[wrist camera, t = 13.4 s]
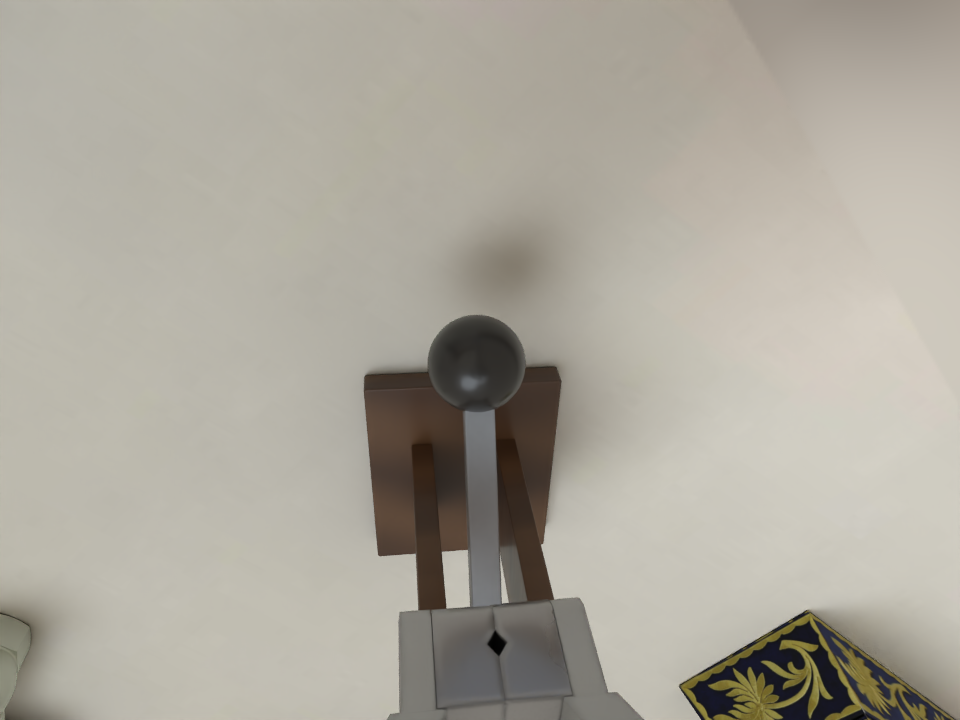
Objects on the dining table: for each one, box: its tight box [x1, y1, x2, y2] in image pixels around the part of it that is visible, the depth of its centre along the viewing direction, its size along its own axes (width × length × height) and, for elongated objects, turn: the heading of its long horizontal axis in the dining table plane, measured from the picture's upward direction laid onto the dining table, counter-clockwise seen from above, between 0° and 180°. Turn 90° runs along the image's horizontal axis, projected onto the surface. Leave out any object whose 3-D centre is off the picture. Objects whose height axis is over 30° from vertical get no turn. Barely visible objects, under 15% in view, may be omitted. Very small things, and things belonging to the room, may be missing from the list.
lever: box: [428, 315, 526, 607], centre depth 25 cm, size 14×4×4 cm
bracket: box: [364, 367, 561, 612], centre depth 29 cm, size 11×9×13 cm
